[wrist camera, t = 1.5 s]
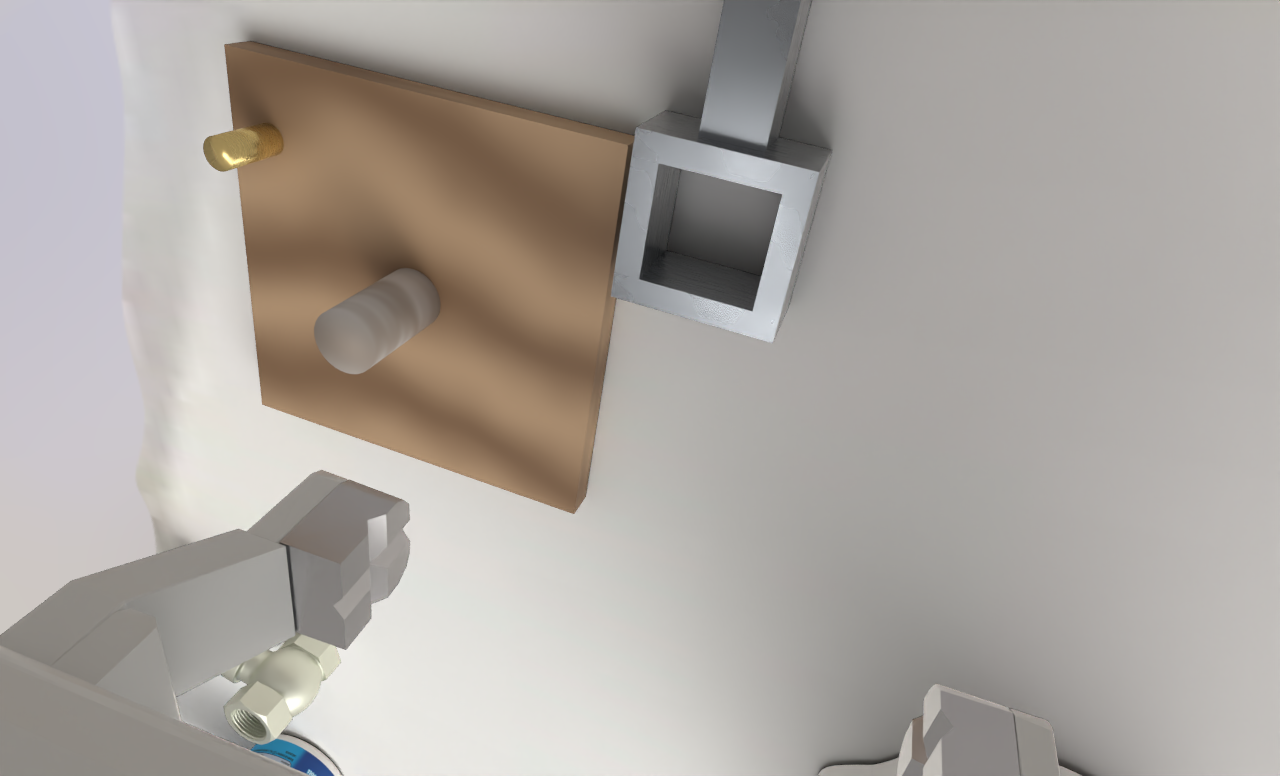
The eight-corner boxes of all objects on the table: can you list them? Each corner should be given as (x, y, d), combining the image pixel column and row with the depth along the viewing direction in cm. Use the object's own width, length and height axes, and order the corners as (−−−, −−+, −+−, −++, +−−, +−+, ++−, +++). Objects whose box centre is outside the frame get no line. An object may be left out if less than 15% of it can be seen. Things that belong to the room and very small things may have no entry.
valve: (353, 634, 53) (200, 541, 53) (284, 713, 47) (114, 609, 48) (336, 688, 56) (192, 601, 57) (269, 769, 51) (111, 670, 51)
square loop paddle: (788, 307, 33) (772, 343, 30) (639, 266, 34) (610, 296, 31) (893, -70, 26) (886, -72, 23) (701, -104, 27) (671, -111, 24)
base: (585, 496, 41) (529, 580, 35) (281, 391, 44) (188, 453, 39) (641, 137, 31) (576, 176, 26) (250, 41, 35) (121, 58, 29)
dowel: (307, 152, 36) (234, 175, 33) (281, 144, 37) (205, 166, 33) (305, 120, 36) (230, 140, 32) (278, 113, 36) (201, 132, 32)
